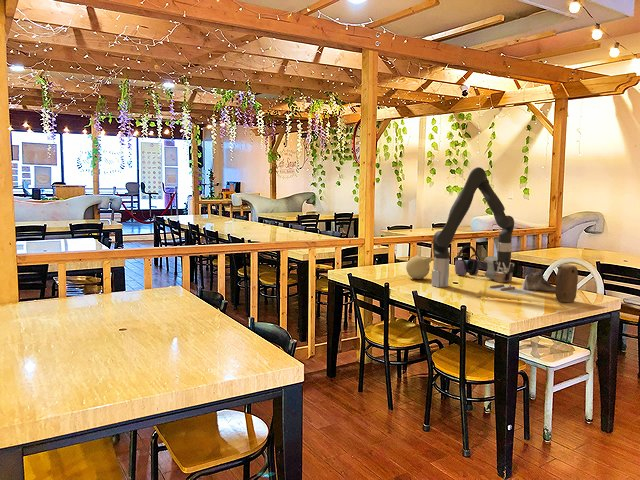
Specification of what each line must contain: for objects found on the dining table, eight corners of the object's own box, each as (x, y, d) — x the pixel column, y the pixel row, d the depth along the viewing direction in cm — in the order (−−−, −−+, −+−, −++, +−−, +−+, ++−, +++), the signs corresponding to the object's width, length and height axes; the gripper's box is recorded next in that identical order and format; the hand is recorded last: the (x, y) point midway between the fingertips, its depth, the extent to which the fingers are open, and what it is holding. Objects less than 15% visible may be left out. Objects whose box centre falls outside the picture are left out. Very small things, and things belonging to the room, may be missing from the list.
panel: (516, 298, 285) (517, 291, 284) (485, 290, 303) (485, 284, 303) (535, 295, 293) (536, 288, 292) (503, 288, 311) (504, 282, 311)
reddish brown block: (501, 282, 298) (501, 273, 297) (494, 280, 302) (494, 272, 302) (511, 280, 303) (512, 272, 302) (504, 279, 307) (505, 270, 306)
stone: (564, 304, 271) (567, 266, 269) (552, 301, 277) (554, 264, 275) (578, 301, 278) (580, 264, 275) (565, 299, 283) (568, 262, 281)
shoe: (571, 295, 295) (572, 273, 293) (568, 298, 286) (569, 276, 284) (525, 289, 309) (526, 268, 308) (520, 292, 300) (521, 271, 299)
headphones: (480, 275, 354) (482, 245, 352) (462, 277, 346) (463, 247, 343) (470, 273, 362) (471, 244, 360) (452, 274, 354) (453, 245, 352)
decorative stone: (501, 283, 325) (502, 259, 323) (481, 279, 340) (482, 256, 338) (515, 282, 330) (516, 258, 329) (494, 277, 345) (495, 255, 344)
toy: (434, 280, 332) (435, 257, 330) (414, 282, 326) (415, 258, 325) (420, 276, 347) (421, 253, 346) (400, 277, 342) (401, 254, 340)
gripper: (519, 251, 296) (517, 281, 298) (498, 248, 308) (497, 277, 310) (510, 252, 292) (508, 282, 294) (490, 249, 304) (488, 278, 306)
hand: (503, 279), depth 302 cm, fingers closed on reddish brown block, 5 cm apart
